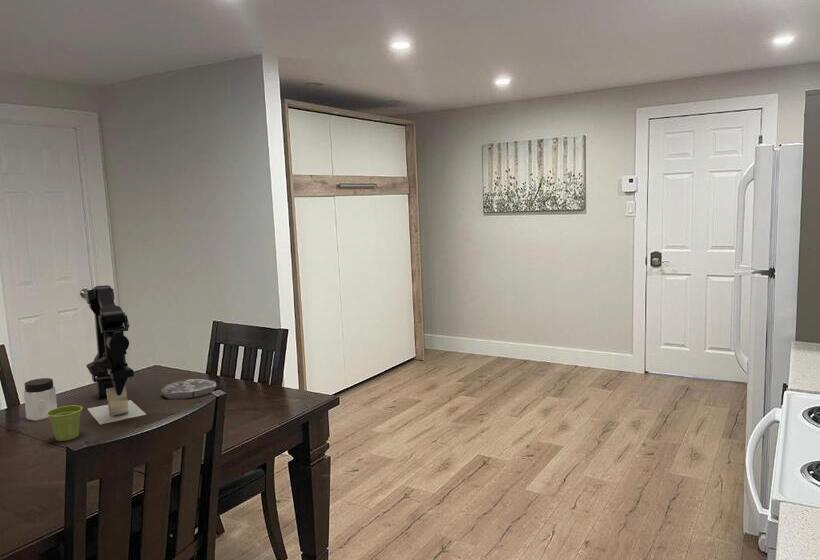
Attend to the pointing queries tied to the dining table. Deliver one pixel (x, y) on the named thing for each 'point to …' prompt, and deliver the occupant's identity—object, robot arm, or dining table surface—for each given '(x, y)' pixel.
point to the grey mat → (104, 417)
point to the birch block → (117, 402)
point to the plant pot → (65, 422)
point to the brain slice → (188, 389)
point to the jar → (39, 398)
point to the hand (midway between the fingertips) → (119, 395)
